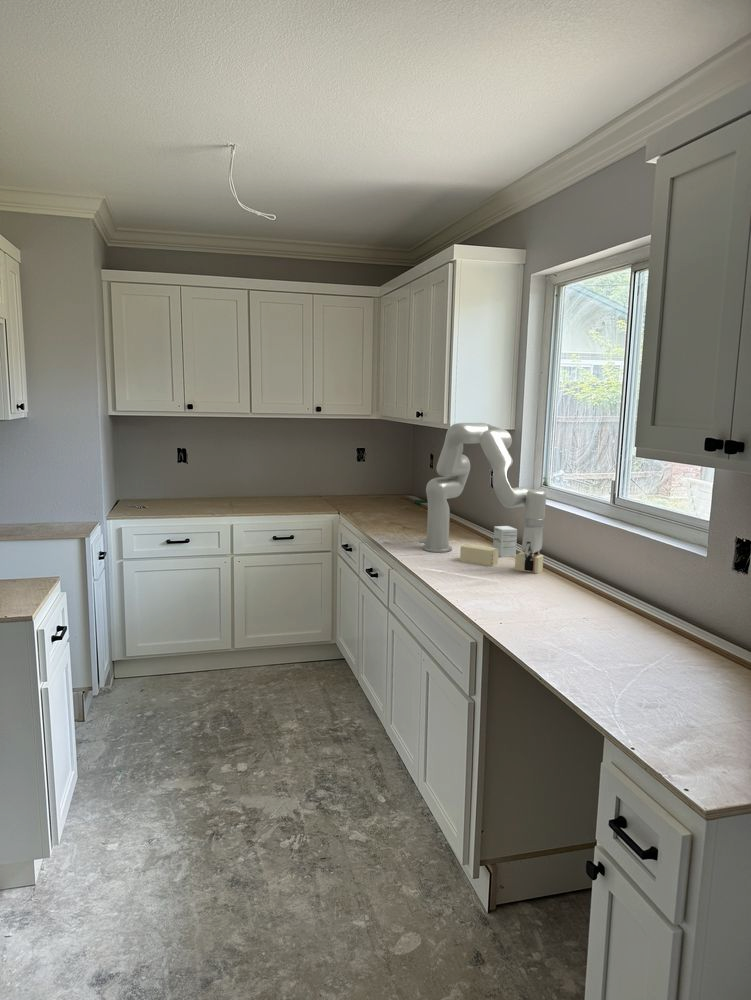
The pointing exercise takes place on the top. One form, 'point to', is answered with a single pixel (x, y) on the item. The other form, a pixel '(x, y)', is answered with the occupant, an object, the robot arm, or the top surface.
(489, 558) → the block
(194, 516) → the top surface
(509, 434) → the robot arm
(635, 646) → the top surface
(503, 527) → the supplement box
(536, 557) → the stub
